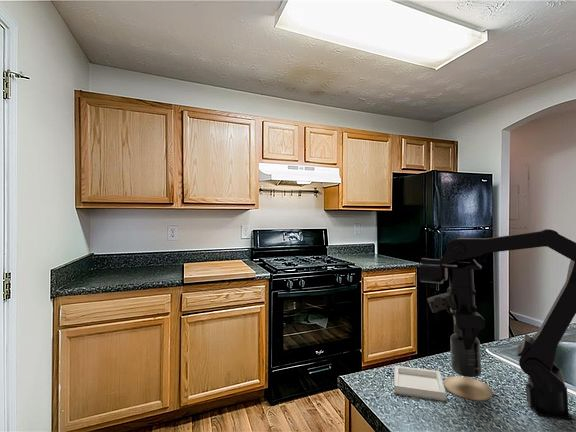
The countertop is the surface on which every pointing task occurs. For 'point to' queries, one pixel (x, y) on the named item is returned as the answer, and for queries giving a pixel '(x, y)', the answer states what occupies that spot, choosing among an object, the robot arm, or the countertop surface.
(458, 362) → the supplement bottle
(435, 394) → the white tray
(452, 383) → the cork coaster
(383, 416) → the countertop surface
